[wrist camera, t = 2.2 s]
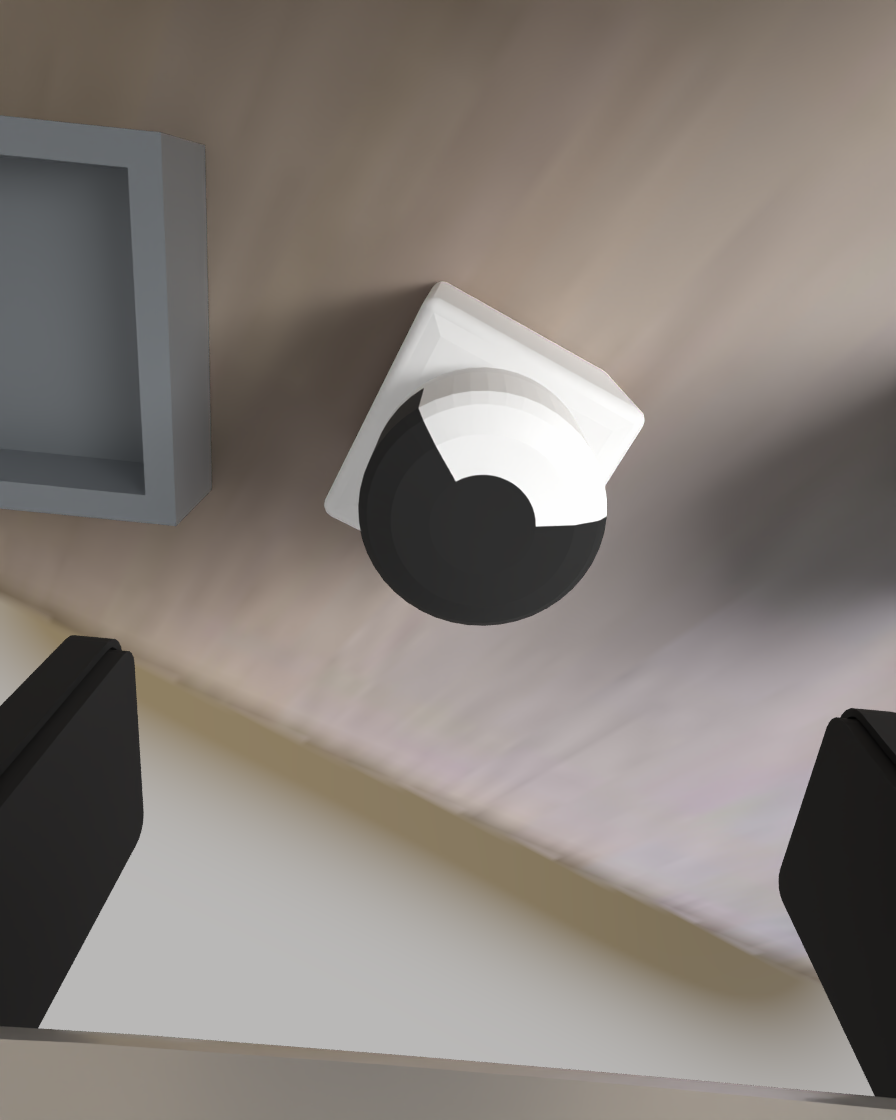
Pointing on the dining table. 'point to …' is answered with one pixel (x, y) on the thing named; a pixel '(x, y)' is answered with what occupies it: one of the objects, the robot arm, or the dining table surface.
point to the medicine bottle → (483, 465)
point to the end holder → (103, 322)
